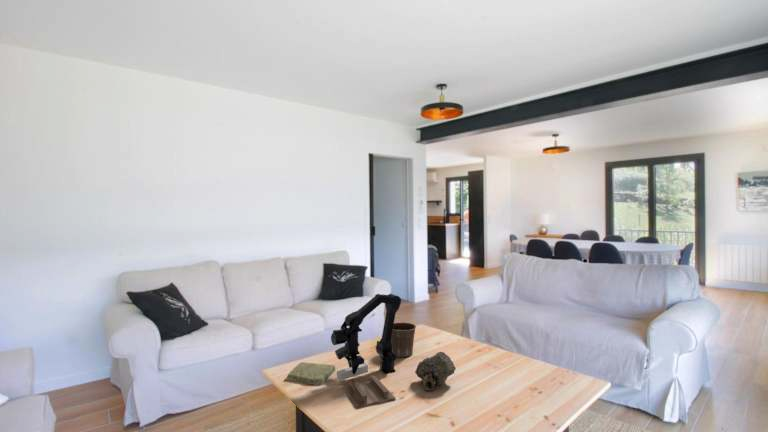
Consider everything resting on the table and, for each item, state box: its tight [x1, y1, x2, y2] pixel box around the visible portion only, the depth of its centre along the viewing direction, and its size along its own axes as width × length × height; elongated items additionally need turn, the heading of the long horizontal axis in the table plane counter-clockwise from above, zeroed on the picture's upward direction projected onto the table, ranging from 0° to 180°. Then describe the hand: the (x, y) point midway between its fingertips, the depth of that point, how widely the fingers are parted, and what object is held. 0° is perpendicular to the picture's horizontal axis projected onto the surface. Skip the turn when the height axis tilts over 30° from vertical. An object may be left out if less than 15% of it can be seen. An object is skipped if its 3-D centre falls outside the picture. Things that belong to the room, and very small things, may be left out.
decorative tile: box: [286, 361, 336, 386], centre depth 197 cm, size 19×20×4 cm
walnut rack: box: [342, 374, 397, 409], centre depth 177 cm, size 18×20×4 cm
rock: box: [414, 351, 457, 392], centre depth 185 cm, size 18×14×15 cm
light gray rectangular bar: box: [336, 362, 369, 381], centre depth 192 cm, size 16×3×4 cm, turn 126°
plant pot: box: [391, 322, 417, 358], centre depth 225 cm, size 16×16×16 cm
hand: (352, 372), depth 192 cm, fingers closed on light gray rectangular bar, 4 cm apart
